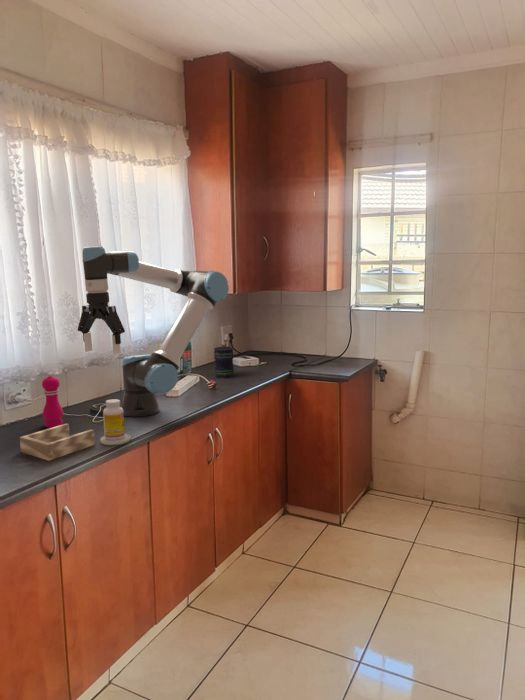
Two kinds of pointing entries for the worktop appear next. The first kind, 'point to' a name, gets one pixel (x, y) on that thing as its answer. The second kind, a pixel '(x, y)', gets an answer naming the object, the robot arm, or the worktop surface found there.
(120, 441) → the sage green dome
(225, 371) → the dark blue canister
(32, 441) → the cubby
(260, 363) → the worktop surface
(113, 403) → the supplement bottle
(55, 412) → the pepper mill
